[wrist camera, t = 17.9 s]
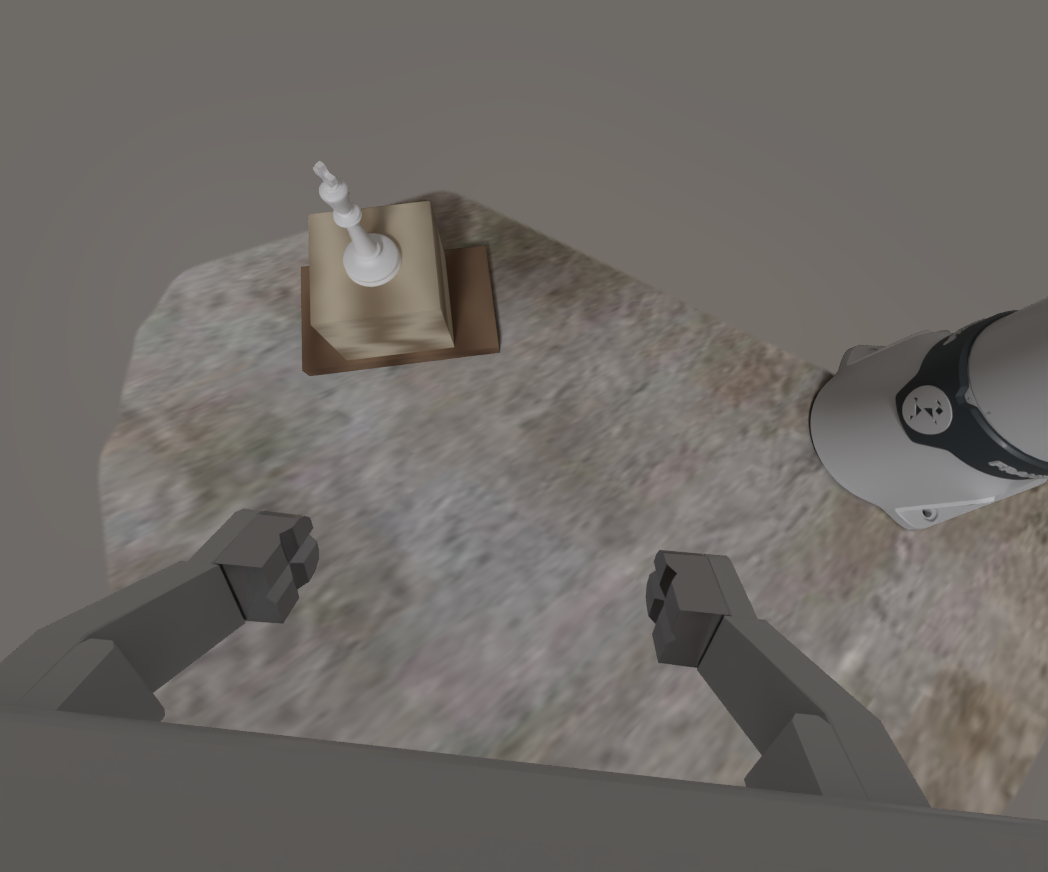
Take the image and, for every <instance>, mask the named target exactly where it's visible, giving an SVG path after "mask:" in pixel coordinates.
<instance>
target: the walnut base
mask: <svg viewBox="0 0 1048 872" xmlns="http://www.w3.org/2000/svg"><path fill="white" fill-rule="evenodd" d="M361 211H362V218H361V220H360V222H359V223H360V224H361V226H362V227H363V228H364V230H365V231H366V233H367V234H369V233H377V234H381V235H384V236H386V237H388V238H389V239H391V240H392V241H393V242H394V243H395V245H396V246H397V248H398V249H399V251H400V254H401V266H400V269H399V271H398V273H397V274H396V275H395V277H394V278H393V279H391V280H390V281H389V282H387V283H385V284H383V285H380V286H375V287H367V286H362V285H359V284H357V283H355V282H354V281H353V280H352V279H351V278H350V277H349V276H348V274H347V272H346V270H345V267H344V264H343V255H344V251H345V249H346V247H347V246H348V245H349V243H350V242H351V241H352V240H351V237H350V235H349V232H348V230H347V228H344V227H340V226H338V225H337V224H336V223H335V221H334V219H333V212H327V213H319V214H309V215H308V219H309V266H304V267H301V308H302V371H304V372H305V373H306V374H308V375H309V376H314V375H322V374H330V373H338V372H347V371H355V370H363V369H371V368H379V367H387V366H395V365H403V364H411V363H419V362H427V361H435V360H443V359H451V358H459V357H467V356H475V355H483V354H491V353H499V352H500V351H499V343H498V336H497V328H496V320H495V312H494V305H493V297H492V289H491V282H490V274H489V266H488V259H487V251H486V245H484V246H476V247H467V248H459V249H450V250H444V249H443V245H442V242H441V238H440V235H439V231H438V228H437V224H436V221H435V217H434V213H433V210H432V206H431V203H430V201H424V202H415V203H406V204H397V205H388V206H379V207H371V208H363V209H361Z"/></svg>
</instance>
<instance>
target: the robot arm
mask: <svg viewBox="0 0 1048 872" xmlns="http://www.w3.org/2000/svg"><path fill="white" fill-rule="evenodd" d="M811 434H812V439H813V443H814V446H815V449H816V451H817V454H818V456H819V458H820V460H821V461H822V463H823V465H824V466H825V468H826V469H827V470H828V472H829V473H830V474H831V475H832V476H833V478H834V479H835V480H836V481H837V482H838V483H840V484H841V485H842V486H843V487H844V488H846V489H847V490H848V491H850V492H851V493H853V494H854V495H856V496H858V497H860V498H862V499H864V500H866V501H868V502H871V503H873V504H875V505H877V506H879V507H880V508H882V509H883V510H884V511H885V512H886V513H887V514H888V515H890V516H891V517H892V518H893V519H894V520H895V521H896V522H897V523H898V524H900V525H901V526H902V527H904V528H906V529H908V530H917V529H924V528H927V527H929V526H932V525H935V524H937V523H940V522H943V521H945V520H948V519H951V518H953V517H956V516H959V515H961V514H964V513H967V512H969V511H972V510H975V509H977V508H980V507H983V506H985V505H988V504H991V503H993V502H996V501H999V500H1001V499H1004V498H1007V497H1009V496H1012V495H1015V494H1017V493H1020V492H1023V491H1025V490H1028V489H1031V488H1033V487H1036V486H1038V485H1041V484H1043V483H1045V482H1046V481H1047V478H1048V297H1046V298H1044V299H1042V300H1040V301H1038V302H1036V303H1034V304H1031V305H1029V306H1027V307H1025V308H1023V309H1021V310H1013V311H1007V312H1003V313H999V314H997V315H994V316H992V317H989V318H987V319H982V320H979V321H976V322H974V323H972V324H970V325H967V326H965V327H963V328H961V329H959V330H958V331H956V332H955V333H953V334H951V333H950V332H949V331H948V330H944V331H938V332H930V331H928V330H925V331H921V332H918V333H915V334H913V335H911V336H909V337H907V338H904V339H902V340H900V341H897V342H895V343H893V344H891V345H889V346H868V345H859V346H855V347H853V348H850V349H848V350H847V351H846V352H845V354H844V355H843V358H842V360H841V363H840V367H839V370H838V372H837V373H836V374H835V375H834V377H833V378H831V379H830V380H829V381H828V382H827V383H826V384H825V385H824V387H823V388H822V389H821V390H820V392H819V394H818V395H817V397H816V399H815V402H814V404H813V408H812V412H811ZM923 511H924V512H925V515H923ZM312 529H313V525H312V522H311V519H310V518H309V517H307V516H302V515H294V514H286V513H278V512H270V511H258V510H250V509H242V510H239V511H237V512H235V513H234V514H233V515H232V516H231V517H230V518H229V519H228V520H227V521H226V522H225V524H224V525H223V526H222V527H221V528H220V529H219V530H218V531H217V532H216V533H215V534H214V535H213V536H212V537H211V538H210V539H209V540H208V541H207V542H206V543H205V544H204V545H203V546H202V547H201V548H200V549H199V550H198V551H197V552H196V553H195V554H194V556H193V557H192V558H191V559H190V560H189V561H180V562H178V563H175V564H173V565H171V566H169V567H167V568H165V569H163V570H161V571H159V572H157V573H155V574H153V575H151V576H149V577H147V578H145V579H142V580H140V581H138V582H136V583H134V584H132V585H130V586H128V587H126V588H124V589H122V590H120V591H118V592H116V593H114V594H111V595H109V596H107V597H105V598H103V599H101V600H100V601H97V602H95V603H93V604H91V605H89V606H87V607H85V608H83V609H81V610H78V611H77V612H74V613H72V614H70V615H68V616H66V617H64V618H62V619H60V620H58V621H56V622H54V623H52V624H50V625H47V626H45V627H43V628H42V629H39V630H37V631H36V632H35V633H34V634H33V635H32V636H31V637H29V638H28V639H27V640H26V641H25V642H24V643H23V644H21V645H20V646H19V647H18V648H17V649H16V650H15V651H13V652H12V653H11V654H10V655H9V656H8V657H6V659H4V660H3V661H2V662H1V663H0V872H1048V821H1046V820H1037V819H1029V818H1020V817H1011V816H1002V815H993V814H984V813H975V812H966V811H957V810H948V809H939V808H931V806H930V804H929V803H928V801H927V799H926V798H925V796H924V794H923V792H922V791H921V789H920V787H919V786H918V784H917V782H916V781H915V779H914V777H913V775H912V774H911V772H910V770H909V769H908V767H907V765H906V764H905V762H904V760H903V758H902V757H901V755H900V753H899V752H898V750H897V748H896V747H895V745H894V743H893V741H892V740H891V738H890V736H889V735H888V733H887V731H886V730H885V728H884V726H883V724H882V723H881V721H880V720H879V719H878V718H877V717H875V716H874V715H873V714H872V713H871V712H870V711H869V710H867V709H866V708H865V707H864V706H863V705H862V704H861V703H859V702H858V701H857V700H856V699H855V698H854V697H853V696H851V695H850V694H849V693H848V692H847V691H846V690H845V689H843V688H842V687H841V686H840V685H839V684H838V683H837V682H835V681H834V680H833V679H832V678H831V677H830V676H828V675H827V674H826V673H825V672H824V671H823V670H822V669H820V668H819V667H818V666H817V665H816V664H815V663H814V662H812V661H811V660H810V659H809V658H808V657H807V656H806V655H804V654H803V653H802V652H801V651H800V650H799V649H798V648H796V647H795V646H794V645H793V644H792V643H791V642H790V641H788V640H787V639H786V638H785V637H784V636H783V635H782V634H780V633H779V632H778V631H777V630H776V629H775V628H773V627H772V626H771V625H770V624H769V623H768V622H767V621H765V620H761V619H757V616H756V614H755V612H754V610H753V608H752V605H751V603H750V601H749V599H748V597H747V595H746V592H745V590H744V588H743V586H742V584H741V581H740V579H739V577H738V575H737V573H736V571H735V568H734V566H733V564H732V562H731V560H730V559H729V558H728V557H727V556H722V555H711V554H699V553H688V552H676V551H665V550H659V551H658V553H657V554H656V557H655V560H654V564H655V569H656V571H654V572H653V573H651V574H650V575H649V578H648V582H647V587H646V605H647V611H648V616H649V617H650V618H651V619H652V621H653V622H654V623H655V624H656V625H655V628H654V630H653V633H652V636H653V641H654V645H655V650H656V655H657V659H658V663H664V664H672V665H679V666H687V667H695V668H698V669H697V670H698V672H699V673H700V674H701V676H702V677H703V678H704V680H705V681H706V682H707V684H708V685H709V686H710V688H711V689H712V690H713V692H714V693H715V694H716V695H717V697H718V698H719V699H720V701H721V702H722V703H723V705H724V706H725V707H726V709H727V710H728V711H729V713H730V714H731V715H732V717H733V718H734V719H735V721H736V722H737V723H738V724H739V726H740V727H741V728H742V730H743V731H744V732H745V734H746V735H747V736H748V738H749V739H750V740H751V742H752V743H753V744H754V746H755V747H756V748H757V750H758V751H759V752H760V753H761V755H762V756H761V758H760V759H759V760H758V761H757V763H756V764H755V765H754V766H753V768H752V769H751V770H750V771H749V773H748V774H747V776H746V777H745V778H744V780H745V784H746V787H741V786H732V785H722V784H713V783H704V782H695V781H687V780H678V779H669V778H660V777H651V776H642V775H633V774H624V773H615V772H606V771H597V770H588V769H579V768H570V767H561V766H552V765H543V764H534V763H525V762H516V761H507V760H499V759H490V758H481V757H472V756H463V755H454V754H445V753H436V752H427V751H418V750H409V749H400V748H391V747H382V746H373V745H364V744H355V743H346V742H337V741H328V740H319V739H310V738H301V737H292V736H283V735H274V734H265V733H256V732H247V731H238V730H229V729H220V728H211V727H202V726H193V725H184V724H175V723H166V722H161V720H162V719H163V718H164V716H165V710H164V707H163V706H162V705H161V703H160V702H159V701H158V699H157V698H156V697H155V695H154V694H153V692H155V691H156V690H157V689H159V688H160V687H161V686H163V685H164V684H165V683H167V682H168V681H169V680H171V679H172V678H173V677H175V676H176V675H177V674H179V673H180V672H181V671H182V670H184V669H185V668H186V667H188V666H189V665H190V664H192V663H193V662H194V661H196V660H197V659H198V658H200V657H201V656H202V655H204V654H205V653H206V652H208V651H209V650H210V649H212V648H213V647H214V646H215V645H217V644H218V643H219V642H221V641H222V640H223V639H225V638H226V637H227V636H229V635H230V634H231V633H233V632H234V631H235V630H237V629H238V628H239V627H241V626H242V625H243V624H245V621H256V622H269V623H282V624H283V623H284V622H285V620H286V618H287V617H288V615H289V614H290V612H291V610H292V609H293V607H294V605H295V604H296V602H297V601H298V599H299V594H298V589H299V588H300V587H302V586H303V585H305V584H306V583H308V582H309V581H310V579H311V578H312V576H313V574H314V573H315V570H316V567H317V564H318V560H319V547H318V543H317V541H316V540H315V539H313V538H312V537H311V536H310V535H309V534H310V532H311V531H312Z"/></svg>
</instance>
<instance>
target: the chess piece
mask: <svg viewBox="0 0 1048 872" xmlns="http://www.w3.org/2000/svg"><path fill="white" fill-rule="evenodd" d="M313 170H314V171H315V173H316V174H317V175H318V176H320V177H321V178H322V179H323V180H324V181H323V182H322V184H321V185H320V187H319V194H320V196H321V198H322V199H323V200H324V201H325V202H326V203H328V204H329V205H330V206H331V207H333V209H334V211H333V219H334V221H335V223H336V224H337V225H338V226H340V227H344V228H347V230H348V232H349V235H350V237H351V240H352V241H351V242H350V243H349V245H348V246H347V247H346V249H345V251H344V255H343V264H344V267H345V270H346V272H347V274H348V276H349V277H350V278H351V279H352V280H353V281H354V282H355V283H357V284H359V285H362V286H367V287H375V286H380V285H383V284H385V283H387V282H389V281H390V280H391V279H393V278H394V277H395V275H396V274H397V273H398V271H399V269H400V266H401V254H400V251H399V249H398V248H397V246H396V245H395V243H394V242H393V241H392V240H391V239H389V238H388V237H386V236H384V235H381V234H377V233H369V234H367V233H366V231H365V230H364V228H363V227H362V226H361V224H360V223H359V222H360V220H361V218H362V211H361V209H360V208H359V207H358V206H357V205H356V204H355V203H353V202H350V198H349V188H348V185H347V183H346V182H345V181H344V180H342V179H341V178H337V177H334V176H333V175H332V174H330V173H329V172H328V170H327V168H326V167H325V165H324V164H323V163H322V162H321V161H319V162H318V163H316V164H315V167H313Z"/></svg>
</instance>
